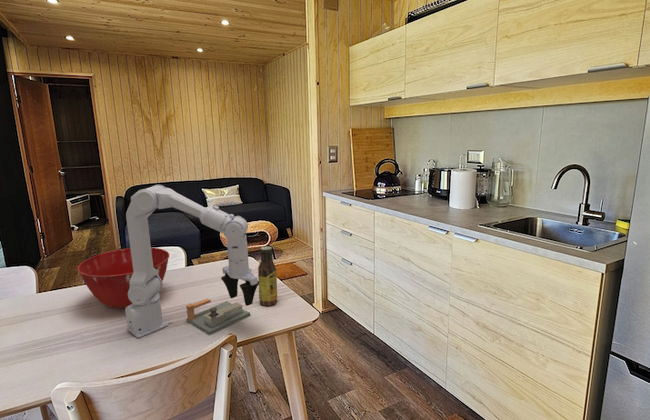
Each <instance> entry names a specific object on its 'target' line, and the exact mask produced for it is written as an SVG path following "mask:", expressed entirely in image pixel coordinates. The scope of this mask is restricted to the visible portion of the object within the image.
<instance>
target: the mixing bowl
mask: <svg viewBox="0 0 650 420" xmlns="http://www.w3.org/2000/svg"><path fill="white" fill-rule="evenodd" d="M151 252H152V260H153V267H154V268H155V269H156V270H157V271H158V275H159V277H160V279H161V280H162V282H163V281H164V278H165V275H166V272H167V267H168V263H169V258H170V253H169V251H167V250H165V249H162V248H159V247H158V248H157V247H151ZM77 272H78V273H79V274H80V276H81V278H82V280H83V281H84V284H85V286H86V287H87V288H88V290H89V291H90V293H91V294H92V295H93V296H94V297H95V299H96V300H98V301H99V302H100V303H101V304H103V305H104V306H107V307H110V308H113V309H117V310H118V309H119V310H121V309H126V307H127V306H129V305H131V304H132V302H131V301H130V300H129V298H128V291H129V288H130V284H129V282H130V279H131V277H132V275H133V272H134V271H133V264H132V256H131V249H130V247H129V248H121V249H116V250H111V251H107V252H103V253H99V254H96V255H93V256H91V257H89V258H87V259H85V260H83V261H82V262H81V263H79V265H78V266H77Z"/></svg>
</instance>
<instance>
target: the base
mask: <svg viewBox="0 0 650 420" xmlns="http://www.w3.org/2000/svg"><path fill="white" fill-rule="evenodd" d="M231 304H232V303H231V302H229V301H224V302H221V303H218V304H217V305H215V306H212V307H209V308H207V309H205V310H202V311H200V312H198V313H194V315H195V319H193V320H189V319H188V318H187V317H186V319H185V320H186V322H188V323H189V324H191V325H192V326H193V327H194V326H195V328H197V329H199V330H200V331H201V332H202V331H203V332H204V333H205V334H207V335H208V336H210V335H213V334H214V333H218V332H220V331H221V330H222V329H225V328H228V327H229V326H231V325H233V324H235V323H238V322H240V321H242V320H244V319H246V318H249V317H250V316H251V312H249V311H248V310H245V309H243V312H242V313H239V314H237V315H235V316H233V317H231V318H228V319H226V320H224V321H225V322H223V323H221V324H218V325H216V326H214V327H210V326H209V325H207V324H205V323H204V317H203V315H205V314H207V313H210V312H211V317H215V316H216V310H220V309H222V308H224V307H227V306H229V305H231Z"/></svg>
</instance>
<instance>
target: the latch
mask: <svg viewBox="0 0 650 420" xmlns="http://www.w3.org/2000/svg"><path fill="white" fill-rule="evenodd" d="M243 310H244V309H243V304H241V303H239V302H234V303H231V305H229V306H227V307H224V308H222V309H220V310H216V316H215V317H211V312H210V313H207V314H205V315H203V317H204V323H205V324H207V325H209V326H210V327H214V326H216V325H218V324H221V323H223V322H225V321H224V320H226V319H228V318H231V317H233V316H235V315H237V314H239V313H242V312H243Z"/></svg>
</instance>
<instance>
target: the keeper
mask: <svg viewBox="0 0 650 420" xmlns="http://www.w3.org/2000/svg"><path fill="white" fill-rule="evenodd" d="M211 302H212V300H211V299H209V298H205V299H203V300H199V301H198V302H194V303H189V304H186V305H185V306H186V309H185V310H186V315H187V317H186V318H188V319H189V320H193V319H195V309H197V308H200V307H202V306H205V305H207V304H210V303H211Z"/></svg>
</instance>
